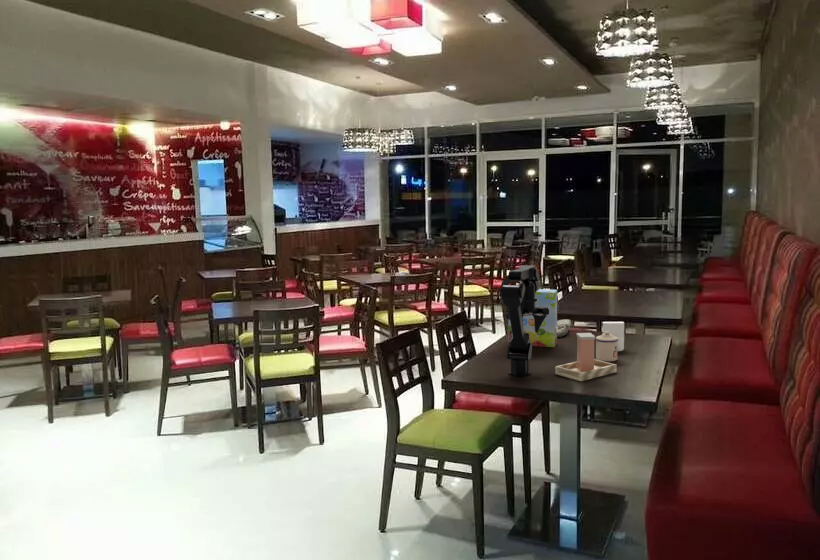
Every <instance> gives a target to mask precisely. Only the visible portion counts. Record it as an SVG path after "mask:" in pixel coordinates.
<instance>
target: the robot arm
mask: <svg viewBox="0 0 820 560" xmlns="http://www.w3.org/2000/svg"><path fill="white" fill-rule="evenodd" d="M512 282H520V285H515V284H514V285H512V284H511V283H512ZM539 289H541V283H540V273H539V269H538V268H537V266H536V265H527V264H526V265H524V264H523V265H522V264H521V265H519V266H518V268H517V269H515V270H513V269H512V270H509V271H508V275H507V276H506V277H505V278H504V279H503V280H502V282H501V285H500V288H499V297H500V298H501V302H502V304H503V305H504V306H505V307H506V308H507V310H508V311H507V312H506V313H505V316H506V317H505V318H506V319H507V320H508V319H509V320H510V323H511V329H512V335H513V336H512V338H511V341H510V343H509V344H507V353H506V358H507V360H510V371H508V372H507V374H509V375H511V376H515V377H518V378H521V377H524V376H528V375H531V374H532V372H530V370H529V369H530V368H529V361H530V360H531V359H532V354H533V353H532V351H533V346H532V343H531V342H530V336H529V334H528V333H524V327H523V320H522V318H523V316H527V315H533V317H534V320H535V332H538V330H539V328H540V326H541V324H542V322H543V321H544V319H545V317H547V315H549V309H548V308H547V307H542V306H538V307H535V302H536V301H537V299H535V292H537V291H538V290H539ZM530 312H531V313H530ZM525 313H526V314H525Z"/></svg>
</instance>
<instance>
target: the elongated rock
mask: <svg viewBox="0 0 820 560" xmlns="http://www.w3.org/2000/svg"><path fill="white" fill-rule="evenodd" d="M571 325H572V320H571V319H566V318H565V319H559V320H558V319H557V338H559V337H563V336H565V335H567V334H568V331H569V329H571Z"/></svg>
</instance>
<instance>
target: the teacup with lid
mask: <svg viewBox="0 0 820 560" xmlns="http://www.w3.org/2000/svg"><path fill="white" fill-rule="evenodd" d="M595 341H596V343H595V347H596V348H595V356H596V357H595V359H596V360H600V361H604V362H615V361H617V360H618V352H619V351H618V338H617V337H615V336H613V335H611V334H609V332H605V334H603V333H602V334H601V335H597V336H595Z"/></svg>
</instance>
